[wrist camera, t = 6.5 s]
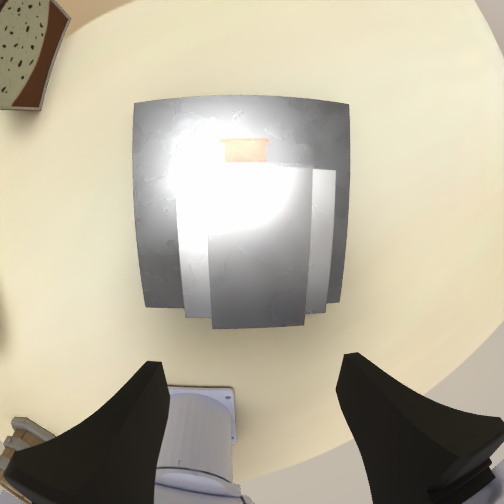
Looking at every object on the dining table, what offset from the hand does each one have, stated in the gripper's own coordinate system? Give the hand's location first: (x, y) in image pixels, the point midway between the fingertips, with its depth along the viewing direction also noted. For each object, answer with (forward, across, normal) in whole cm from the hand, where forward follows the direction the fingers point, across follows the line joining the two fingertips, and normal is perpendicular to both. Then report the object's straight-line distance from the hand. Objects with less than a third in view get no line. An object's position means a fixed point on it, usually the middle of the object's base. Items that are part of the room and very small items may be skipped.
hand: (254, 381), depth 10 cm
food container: (+11, +19, -20) cm, 29 cm away
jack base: (+10, 0, -6) cm, 12 cm away
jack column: (+5, 0, -6) cm, 8 cm away
